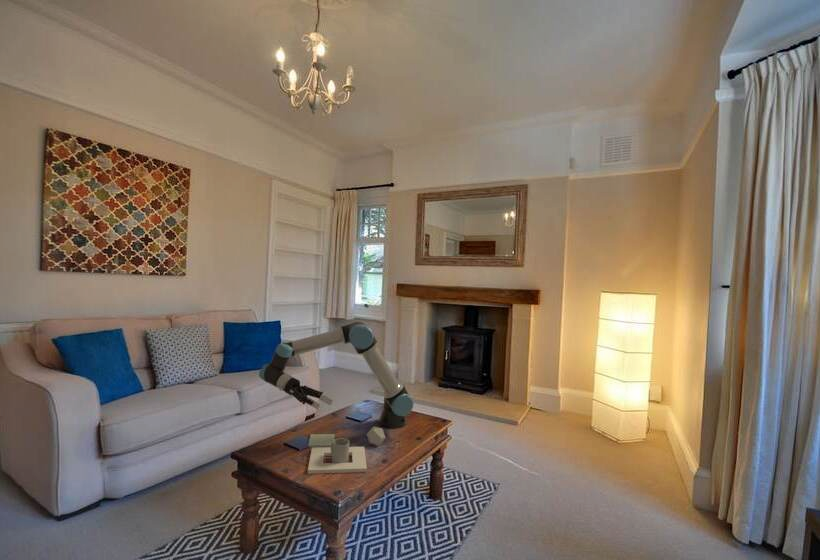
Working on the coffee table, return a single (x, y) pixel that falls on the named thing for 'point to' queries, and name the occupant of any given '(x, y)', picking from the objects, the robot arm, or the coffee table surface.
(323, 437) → the coaster
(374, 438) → the die
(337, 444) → the cup
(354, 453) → the beige flat frame
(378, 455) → the coffee table surface
